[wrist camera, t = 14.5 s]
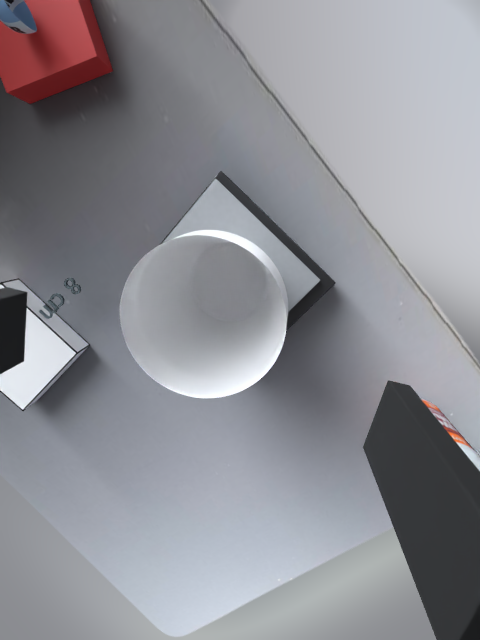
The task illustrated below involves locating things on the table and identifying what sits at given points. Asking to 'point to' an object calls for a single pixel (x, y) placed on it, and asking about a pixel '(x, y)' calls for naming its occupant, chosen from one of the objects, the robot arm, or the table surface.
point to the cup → (205, 313)
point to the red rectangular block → (49, 47)
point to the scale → (257, 241)
